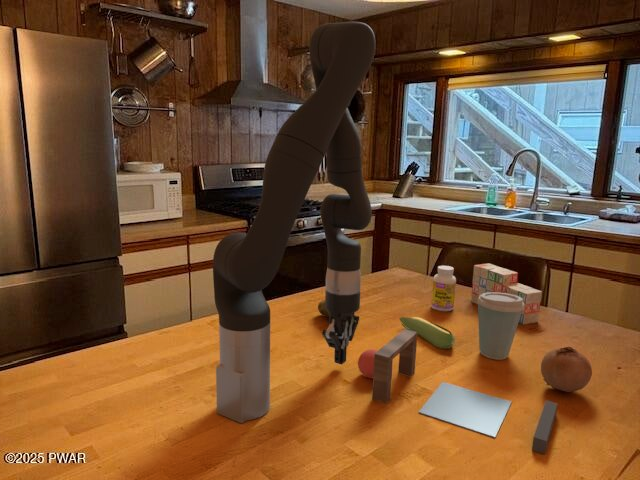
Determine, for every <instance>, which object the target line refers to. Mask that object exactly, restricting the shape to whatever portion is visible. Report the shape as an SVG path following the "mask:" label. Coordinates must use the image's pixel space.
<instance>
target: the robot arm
mask: <svg viewBox="0 0 640 480" xmlns="http://www.w3.org/2000/svg"><path fill="white" fill-rule="evenodd" d="M308 49H309V51H308V52H309V59H310V60H309V61H310V67H311V71H312V75H313V77H312V78H313V81H314V87H315V90H314V92H313V93H312V94H311V95H310V96H309V97H308V98H307V99H306V101H304V102H303V103H302V104H301V105H300V106H299V107H298V108H296V110H295V111H294V112H293V113H292V114H291V115H290V116H289V117H288V118H287V119H286V120H285V121H284V123H283V124H282V125H281V127H280V128H279V131H278V132H277V134H276V136H275V138H274V140H273V143H272V145H271V147H270V149H269V152H268V154H267V156H266V160H265V164H264V169H263V177H262V192H261V199H260V203H259V207H258V210H257V213H256V214H255V217H254V219H253V221H252V224H251V225H250V228H249V229H248V231H247V233H244V232H231V233H229V234H227V235H225V236H224V237H222V238H221V239H220V240H219V242H218V244H217V245H216V248H215V249H214V253H213V258H212V277H213V278H212V280H213V281H212V282H213V297H214V304H215V308H216V310H217V313H218V323H219V324H218V325H219V327H218V328H219V329H218V330H219V331H218V332H219V334H218V335H219V363H218V365H216V367H215V375H216V376H215V379H216V383H215V384H216V413H217V414H219V415H220V416H224V417H226V418H229V419H230V420H233V421H235V422H237V423H240V424H243V423H245V422H247V421H251V420H255V419H258V418H261V417H263V416H264V415H266V414H267V413H268V412H269V410H270V408H271V407H270V406H271V308H270V305H269V304H268V301H267V300H266V298H265V295H264V293H263V290H264V289H266V287H268V286H269V285H270V284H271V282H272V281H273V279H275V277H276V275H277V273H278V271H279V269H280V266H281V263H282V260H283V257H284V254H285V251H286V248H287V245H288V242H289V240H290V236H291V233H292V230H293V227H294V225H295V223H296V220H297V218H298V216H299V213H300V211H301V209H302V206H303V204H304V202H305V199H306V197H307V194H308V192H309V190H310V188H311V186H312V184H313V182H314V180H315V178H316V176H317V173H318V172H319V169H320V168H321V165H322V162H323V160H324V158H326V159H325V160H326V161H325V162H326V177H327V181H328V182H329V183H330V184H331V185H333V186H335V187H337V188H340V189H342V190H344V191H345V192H346V193H347V194H339V193H332V194H331V193H330V194H327V196H325V197H324V198H323V200H322V202H321V204H320V208H319V209H320V212H319V213H320V220H321V225H322V227H323V232H324V236H325V241H326V246H327V264H326V265H327V266H326V267H327V269H326V274H325V294H324V300H325V308H326V309H327V310H328V311H329V312H330V318H328V324H329V325H328V328H327V329H322V332H321V334H322V336H323V338H324V340H325V341H326V343H327V346H328V347H329V348H333V349H334V357H333V358H334V361H333V362H334V363H336V364H339V365H343V364H344V363H346V362H347V352H348V351H347V349H348V348H347V347H349V344H350V342H352V341H353V339H354V336H355V333H356V330H357V326H358V324H359V321H360V316H359V315H356V314H355V313H357V312H358V311H359V310H360V307H361V285H362V275H361V262H362V261H361V259H362V257H361V256H362V245H361V243H360V242H359V241H357V240H355V239H352V238H350V237H347V236H346V235H345V234H344V232H343V230H342V229H344V230H352V231H362V230H365V229H366V228H367V227H368V226H369V225H370V222H371V220H372V215H373V213H372V212H373V211H372V210H373V209H372V205H371V201H370V197H369V194H368V192H367V188H366V185H365V182H364V177H363V165H362V164H363V160H362V158H363V157H362V155H363V153H362V143H361V136H360V135H359V132H358V129H357V126H356V125H355V122H354V120H353V118H352V116H351V113H350V110H349V108H348V107H349V105H350V103H351V102H352V99H353V98H354V96H355V95H356V93H357V91H358V90H359V88H360V86H361V84H362V83H363V81H364V79H365V77H366V76H367V74H368V72H369V70H370V68H371V66H372V64H373V60H374V58H375V53H376V36H375V33H374V31H373V29H372V28H371V27H370V26H369V25H368V24H366V23H364V22H360V21H342V22H341V21H340V22H330V23H329V22H328V23H324V24H323V23H322V24H321V25H319V26H318V27H317V28H315V30H314V31H313V32H312V34H311V37H310V40H309V48H308Z"/></svg>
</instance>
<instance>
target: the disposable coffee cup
mask: <svg viewBox="0 0 640 480" xmlns="http://www.w3.org/2000/svg"><path fill="white" fill-rule="evenodd" d="M522 300H523V298H521V297H519V296H516V295H512V294H507V293H499V292H487V293H483V294H481V295H480V296H479V298H478V301H477V303H478V304H477V317H478V318H477V319H478V320H477V321H478V344H479V345H478V347H479V348H478V349H479V351H480V354H481V355H482V356H484V357H486V358H488V359H492V360H498V361H500V360H501V361H502V360H505V359H507V358H508V356H510V355H509V354H510V351H511V348H512V345H513V341H514V339H515V335H516V333H517V329H518V326H519V324H520V323H519V319H520V316H521V313H522V311H523V310H524V302H522Z"/></svg>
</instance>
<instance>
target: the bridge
mask: <svg viewBox="0 0 640 480" xmlns="http://www.w3.org/2000/svg"><path fill="white" fill-rule="evenodd" d="M417 333H418V332H415V331H411V330H409V329H408V328H404V329H403V330H401V331H400V332H399V333H398V334H396V336H394V337H393V338H392V339H390V340H389V341H388V342H386V343H385V344H384V345H383V346H382V347H380V348H379V349H378V350H377V352H376V353H375V355H374V374H373V378H372V395H371V399H372V400H374V401H377V402H380V403H383V404H388V402H389V401H390V400H391V392H392V376H393V363H394V362H393V360H394V359H395V358H396V357H397V356H398V355H399V359H398V373H397V374H400V375H402V376H407V377H410V378H412V377H413V376H414V374H415V371H416V360H417V359H416V357H417V345H418V344H417V343H418V334H417Z"/></svg>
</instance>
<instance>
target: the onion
mask: <svg viewBox="0 0 640 480" xmlns="http://www.w3.org/2000/svg"><path fill="white" fill-rule="evenodd" d="M540 373H541V375H542V377H543V379H542V380H543V382H544V383H546V384H545V385H547V386H550V388H553V389H556V390H558V391H562V392H566V393H573V392H577V391H580V390H582V389H583V390H584V388H585V387H587V385H588V384H589V382H590V381H591V379H592V375H593V369H592V366H591V363H590V361H589V359H587V357H586V356H585V355H583V354H582V353H580V352H579V351H578V350H577V349H575V348H573V347H572V346H565V347H559V348H556V349H552V350H550V351H549V352H547V353H545V355H544V356H543V358H542V359H541V363H540Z"/></svg>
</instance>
